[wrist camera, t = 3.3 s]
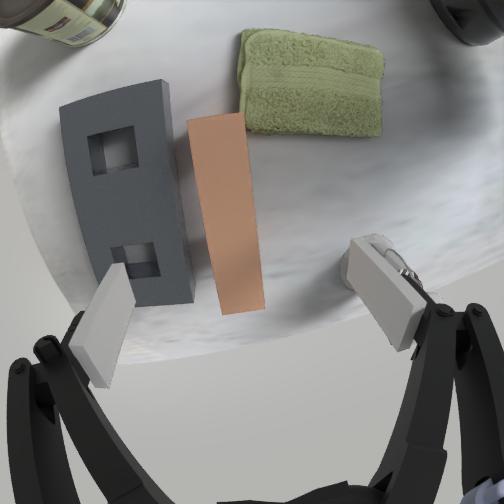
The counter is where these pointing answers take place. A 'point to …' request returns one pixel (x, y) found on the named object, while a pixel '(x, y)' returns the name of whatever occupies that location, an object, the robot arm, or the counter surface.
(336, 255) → the counter surface
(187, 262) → the grey slotted base block
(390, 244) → the french press
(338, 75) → the washcloth
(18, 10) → the coffee can
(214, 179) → the staple
